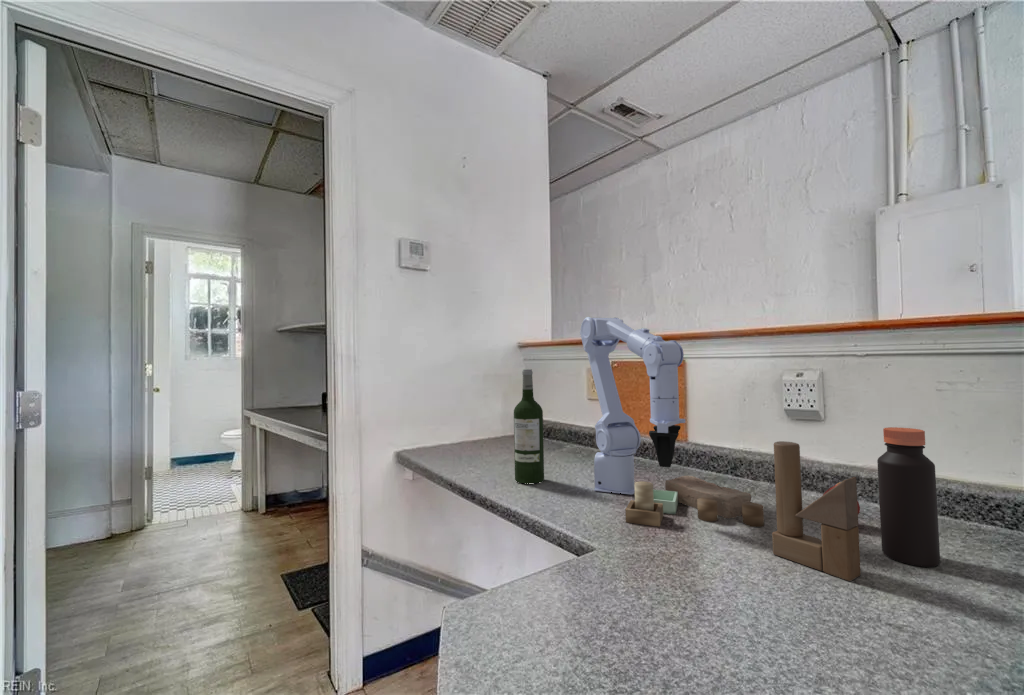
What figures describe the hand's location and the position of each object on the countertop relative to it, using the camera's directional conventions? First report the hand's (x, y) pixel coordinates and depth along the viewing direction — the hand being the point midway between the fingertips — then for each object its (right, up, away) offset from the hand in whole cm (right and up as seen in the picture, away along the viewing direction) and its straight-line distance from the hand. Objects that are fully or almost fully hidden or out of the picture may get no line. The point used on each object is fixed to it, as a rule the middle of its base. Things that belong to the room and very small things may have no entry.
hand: (666, 462), depth 92 cm
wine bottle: (-28, -12, +26) cm, 40 cm away
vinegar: (+30, -9, -24) cm, 39 cm away
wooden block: (+14, -9, -25) cm, 30 cm away
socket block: (-6, -10, -4) cm, 13 cm away
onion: (+30, -10, -9) cm, 33 cm away
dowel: (-6, -10, -4) cm, 13 cm away
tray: (0, -10, +3) cm, 11 cm away
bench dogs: (+10, -10, -6) cm, 16 cm away
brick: (+10, -11, +4) cm, 15 cm away
